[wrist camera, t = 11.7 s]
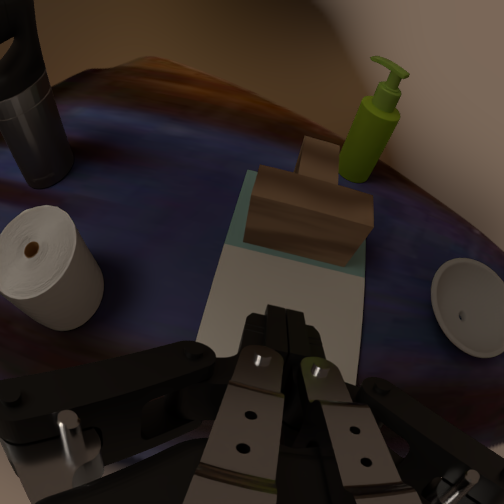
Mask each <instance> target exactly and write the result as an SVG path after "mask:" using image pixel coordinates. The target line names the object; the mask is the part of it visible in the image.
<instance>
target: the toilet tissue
mask: <svg viewBox="0 0 504 504" xmlns="http://www.w3.org/2000/svg"><path fill="white" fill-rule="evenodd" d="M103 291H104V280H103V275H102V272H101V269H100V267H99V266H98V264H97V262H96V260H95V259H94V258H93V255H92V254H91V253H90V251H89V249H88V248H87V246H86V244H85V242H84V240H83V238H82V237H81V235H80V233H79V231H78V229H77V228H76V226H75V224H74V223H73V221H72V219H71V218H70V217H69V215H68V214H67V213H66V212H65V211H63V210H61V209H60V208H58V207H53V206H48V205H44V206H39V207H34V208H32V209H27V210H25V211H23V212H22V213H21V214H20V215H18V216H17V217H16V218H14V219H13V220H12V221H11V222H10V223H9V224H8V225H7V226H6V227H5V229H4V230H3V232H2V233H1V234H0V294H1V295H2V296H4V297H5V298H6V299H7V300H9V301H10V302H11V303H12V304H14V305H15V306H16V307H18V308H19V309H20V310H21V311H23V312H24V313H25V314H27V315H28V316H30V317H31V318H32V319H34V320H35V321H37V322H38V323H40V324H42V325H44V326H46V327H48V328H51V329H53V330H58V331H68V330H72V329H75V328H77V327H79V326H81V325H83V324H84V323H85V322H87V321H88V320H89V319H90V318H91V317H92V316H93V314H94V313H95V312H96V310H97V308H98V307H99V305H100V302H101V300H102V296H103Z"/></svg>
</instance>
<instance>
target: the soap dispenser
mask: <svg viewBox="0 0 504 504" xmlns="http://www.w3.org/2000/svg"><path fill="white" fill-rule="evenodd" d="M370 58H371V60H372V61H374V62H377V63H379V64H381V65H383V66H385V67H386V68H388V69H389V70H391V72H390V74H389V77H388V79H387V81H386V82H379V84H378V86H377V89H376V91H375V94H374V96H366V97H364V98H363V99H362V101H361V104H360V106H359V109H358V111H357V114H356V116H355V119H354V121H353V123H352V126H351V128H350V131H349V133H348V136H347V138H346V140H345V143H344V145H343V147H342V150H341V152H340V155H339V174H340V175H341V176H342V177H344V178H345V179H347V180H349V181H351V182H354V183H363V182H365V181H366V180H367V179H368V178H369V176H370V174H371V172H372V170H373V168H374V167H375V165H376V163H377V161H378V159H379V157H380V155H381V154H382V152H383V150H384V148H385V146H386V144H387V142H388V140H389V139H390V137H391V135H392V133H393V131H394V129H395V127H396V125H397V123H398V121H399V119H400V113H399V111H398V110H397V109H396V108H395V107H396V105H397V103H398V101H399V99H400V96H401V91H400V90H399V88H398V86H399V83H400V81H401V79H405V78H408V77H409V75H410V74H409V73H408V72H407V71H405V70H404V69H403V68H401V67H400V66H398V65H397V64H395V63H393V62H392V61H390V60H388V59H386V58H383V57H380V56H373V57H370Z"/></svg>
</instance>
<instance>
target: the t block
mask: <svg viewBox="0 0 504 504" xmlns="http://www.w3.org/2000/svg"><path fill="white" fill-rule="evenodd" d="M339 148H340V146H339V145H335V144H332V143H329V142H325V141H322V140H318V139H314V138H311V137H307V136H305V137H304V140H303V143H302V147H301V150H300V153H299V157H298V160H297V163H296V166H295V170H294V173H292V172H289V171H285V170H281V169H277V168H273V167H268V166H264V165H260V166H259V170H258V173H257V176H256V180H255V183H254V186H253V190H252V193H251V198H250V204H249V209H248V215H247V221H246V226H245V232H244V238H243V242H245V243H249V244H253V245H257V246H261V247H265V248H269V249H273V250H277V251H281V252H285V253H289V254H293V255H297V256H301V257H305V258H309V259H313V260H317V261H321V262H325V263H329V264H333V265H337V266H340V267H345V265H346V264H347V263H348V261H349V260H350V259H351V257H352V256H353V255H354V253H355V252H356V251H357V249H358V248H359V247H360V245H361V244H362V243H363V241H364V240H365V239H366V237H367V236H368V234H369V233H370V232H371V230H372V229H373V228H374V217H373V195H370V194H366V193H363V192H360V191H357V190H353V189H350V188H347V187H343V186H340V185H338V172H339Z"/></svg>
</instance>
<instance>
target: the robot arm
mask: <svg viewBox="0 0 504 504" xmlns="http://www.w3.org/2000/svg"><path fill="white" fill-rule="evenodd" d="M12 37H14V41H13V43H12V45H11V47H10V48H9V50H8V51H7V53H6V54H5V55H4V56H3V58H2V59H1V60H0V130H1V133H2V135H3V137H4V139H5V141H6V143H7V145H8V147H9V149H10V151H11V153H12V155H13V157H14V159H15V161H16V163H17V165H18V167H19V169H20V171H21V173H22V175H23V176H24V178H25V180H26V182H27V184H28V185H29V186H31V187H32V188H36V189H39V188H46V187H49V186H51V185H53V184H55V183H57V182H58V181H60V180H61V179H62V178H63V177H64V176H66V174H67V173H68V172H69V171H70V169H71V167H72V165H73V162H74V156H73V153H72V150H71V147H70V145H69V142H68V139H67V136H66V133H65V130H64V127H63V124H62V121H61V118H60V115H59V112H58V109H57V106H56V102H55V99H54V96H53V92H52V89H51V86H50V82H49V79H48V75H47V72H46V68H45V63H44V60H43V56H42V52H41V48H40V43H39V38H38V34H37V27H36V20H35V11H34V1H33V0H0V44H1V43H3V42H4V41H6V40H8V39H10V38H12ZM322 346H323V345H322V341H321V337H320V333H319V332H318V331H317V330H316V329H315V327H314V326H311V325H306V323H305V318H304V313H303V312H300V311H296V310H291V309H287V308H286V309H285V308H283V307H278V306H274V305H270V304H268V305H267V307H266V310H265V314H264V315H262V314H258V313H251V314H250V315H248V316H247V317H246V321H245V325H244V329H243V333H242V337H241V341H240V344H239V349H238V353H237V354H236V355H234V356H231V357H216V354H215V352H214V351H213V350H212V349H211V348H210V347H208V346H207V345H205V344H202V343H199V342H195V341H180V342H176V343H172V344H168V345H164V346H160V347H157V348H153V349H149V350H145V351H141V352H137V353H132V354H128V355H124V356H120V357H116V358H111V359H107V360H102V361H98V362H93V363H89V364H84V365H80V366H75V367H70V368H65V369H60V370H55V371H50V372H45V373H39V374H34V375H28V376H22V377H17V378H11V379H4V380H0V442H1V445H2V447H3V449H4V451H5V453H6V455H7V457H8V460H9V462H10V464H11V466H12V468H13V469H14V471H15V473H16V475H17V476H18V477H19V478H20V481H21V483H22V485H23V487H24V489H25V492H26V494H27V496H28V498H29V500H30V502H31V504H504V458H502V457H501V456H499V455H498V454H496V453H495V452H493V451H492V450H490V449H488V448H487V447H485V446H484V445H482V444H481V443H479V442H478V441H476V440H475V439H473V438H472V437H470V436H469V435H467V434H466V433H464V432H462V431H461V430H459V429H458V428H456V427H455V426H453V425H452V424H450V423H449V422H447V421H446V420H444V419H443V418H441V417H440V416H439V415H437V414H436V413H434V412H433V411H431V410H430V409H428V408H427V407H425V406H424V405H422V404H421V403H419V402H418V401H416V400H415V399H413V398H412V397H411V396H409V395H408V394H406V393H405V392H403V391H402V390H400V389H399V388H397V387H396V386H395V385H393V384H392V383H390V382H388V381H386V380H384V379H381V378H377V377H369V378H366V379H364V380H363V382H362V384H361V386H360V387H358V386H355V385H352V384H349V383H347V382H344V379H343V377H342V375H341V372H340V370H339V368H338V367H337V366H336V365H335V364H333V363H332V362H330V361H328V360H326V357H325V353H324V349H323V347H322ZM163 395H164V397H162V398H160V399H157V400H154V401H151V402H149V401H150V400H152V399H154V398H157V397H160V396H163ZM147 402H148V403H147ZM202 420H215V422H214V425H213V428H212V430H211V433H210V436H209V438H199V439H192V440H188V441H184V442H181V443H178V444H176V445H174V446H172V447H169V448H167V449H165V450H163V451H161V452H159V453H157V454H155V455H153V456H151V457H148V458H146V459H144V460H142V461H140V462H137V463H135V464H133V465H131V466H128V467H126V468H124V469H121V470H119V471H117V472H114V473H112V474H109V475H107V476H104V477H102V475H103V472H104V466H106V465H109V464H112V463H114V462H117V461H120V460H122V459H125V458H128V457H131V456H133V455H136V454H138V453H141V452H143V451H146V450H148V449H151V448H153V447H156V446H158V445H160V444H163V443H165V442H167V441H170V440H172V439H174V438H176V437H179V436H181V435H183V434H185V433H187V432H190V431H192V430H194V429H196V428H198V427H199V426H200V425H201V423H202ZM383 423H384V424H385V425H386V426H388V427H389V428H390V429H391V430H393V431H394V432H395V433H397V434H398V435H399V436H401V437H402V438H404V439H405V440H406V441H407V442H408V444H409V446H410V451H409V453H408V455H407V456H406V457H405V458H402V457H400V456H399V455H398V454H396V453H395V452H394V451H393V450H391V449H390V448H389V447H387V446H386V443H385V441H384V439H383V436H382V434H381V432H380V428H381V427H382V425H383ZM101 477H102V478H101ZM441 477H442V478H441Z"/></svg>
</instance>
